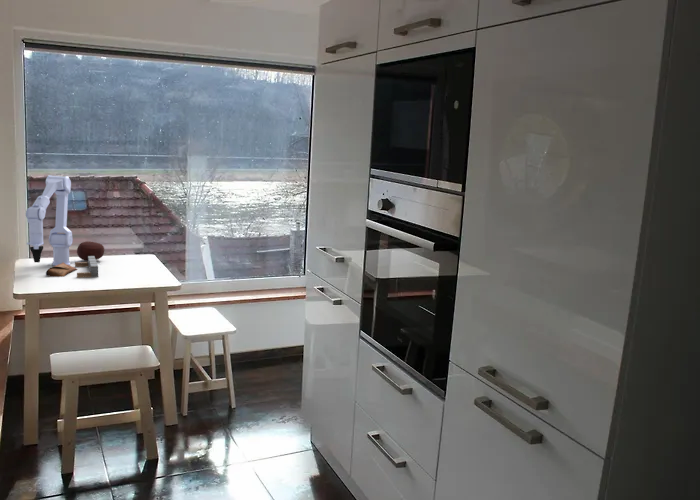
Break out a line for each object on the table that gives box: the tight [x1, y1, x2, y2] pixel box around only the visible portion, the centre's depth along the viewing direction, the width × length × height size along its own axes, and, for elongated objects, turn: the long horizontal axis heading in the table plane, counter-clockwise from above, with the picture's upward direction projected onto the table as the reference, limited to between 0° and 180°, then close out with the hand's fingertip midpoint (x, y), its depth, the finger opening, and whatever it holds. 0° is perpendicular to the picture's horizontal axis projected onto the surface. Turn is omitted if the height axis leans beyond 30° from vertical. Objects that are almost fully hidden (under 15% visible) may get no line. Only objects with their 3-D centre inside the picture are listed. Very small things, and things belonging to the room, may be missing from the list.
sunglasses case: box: [45, 262, 79, 278], centre depth 297 cm, size 18×7×7 cm
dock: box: [74, 256, 99, 279], centre depth 302 cm, size 27×9×5 cm, turn 25°
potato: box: [76, 240, 105, 262], centre depth 326 cm, size 11×13×10 cm
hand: (37, 262), depth 292 cm, fingers closed
